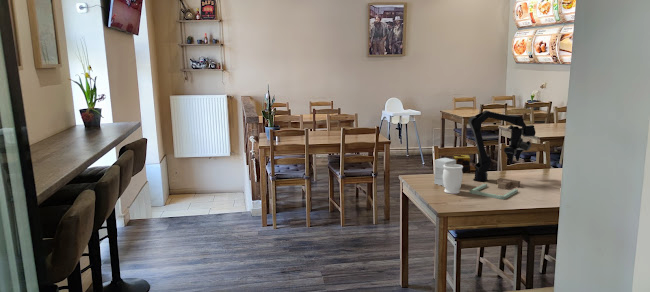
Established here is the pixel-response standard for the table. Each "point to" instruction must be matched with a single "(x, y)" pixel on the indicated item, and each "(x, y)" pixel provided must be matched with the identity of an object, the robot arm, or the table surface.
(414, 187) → the table surface
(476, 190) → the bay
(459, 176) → the jar
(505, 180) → the t block
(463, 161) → the yellow and brown box
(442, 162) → the supplement box
